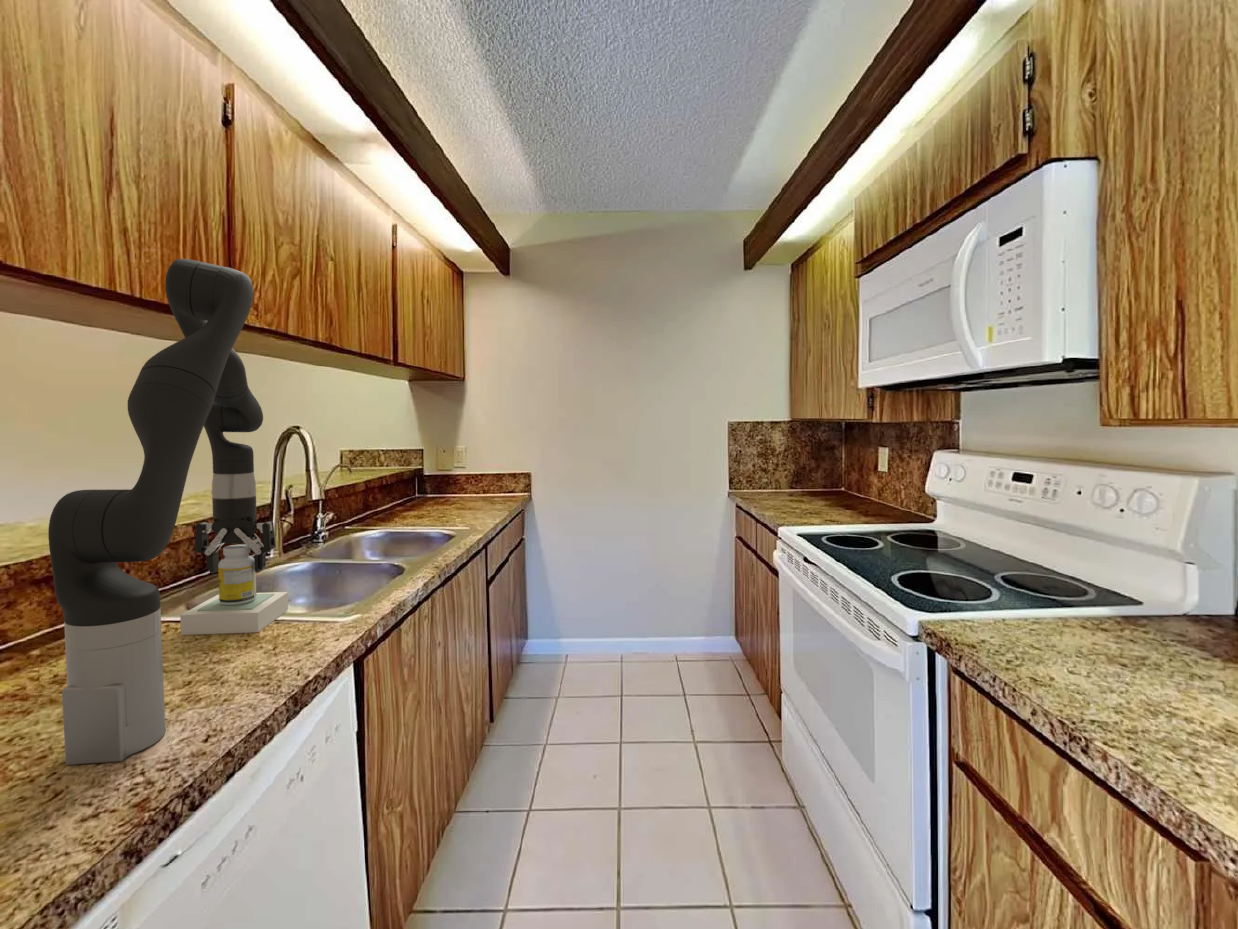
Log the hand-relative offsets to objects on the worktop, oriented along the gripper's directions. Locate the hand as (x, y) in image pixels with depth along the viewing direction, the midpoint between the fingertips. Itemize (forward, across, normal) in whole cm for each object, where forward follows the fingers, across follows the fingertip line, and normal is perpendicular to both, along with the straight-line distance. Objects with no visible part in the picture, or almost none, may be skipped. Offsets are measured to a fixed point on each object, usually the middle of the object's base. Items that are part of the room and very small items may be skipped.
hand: (236, 571), depth 118 cm
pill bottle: (+6, 0, 0) cm, 7 cm away
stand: (+11, 0, 0) cm, 11 cm away
